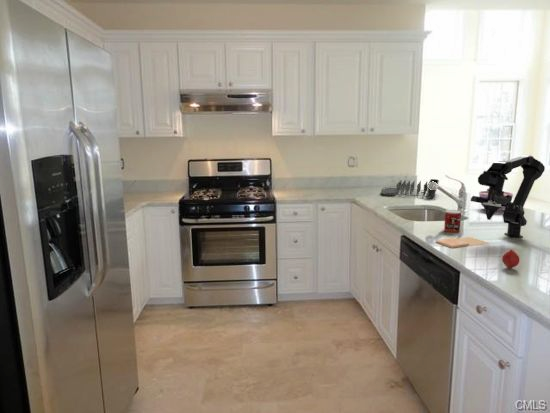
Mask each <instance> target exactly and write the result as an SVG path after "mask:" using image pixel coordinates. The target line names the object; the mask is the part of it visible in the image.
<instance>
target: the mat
mask: <svg viewBox="0 0 550 413" xmlns="http://www.w3.org/2000/svg"><path fill="white" fill-rule="evenodd" d="M456 239H457V240H460V241H463V242H466V243H469V246H470V247H475V246H481V245H488V244H490V242H487V241H484V240H481V239H478V238H474V237H471V236H469V237H460V238H456ZM469 246H468V247H469Z"/></svg>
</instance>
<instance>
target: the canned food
mask: <svg viewBox="0 0 550 413" xmlns="http://www.w3.org/2000/svg"><path fill="white" fill-rule="evenodd" d="M444 213H445V214H444V228H443V230H444V232H448V233H460V231H461V220H462V211H461V210H457V209H447V210H445V212H444Z"/></svg>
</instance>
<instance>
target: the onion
mask: <svg viewBox="0 0 550 413" xmlns="http://www.w3.org/2000/svg"><path fill="white" fill-rule="evenodd" d="M501 260H502V263H503V264H504V266H505V267H506V268H508V269H513V268H516V267H517V266H518V265H519V263H520V256H519V255H518V253H516V252H515V251H514V249H513V248H510V250H508V251H506V252H505V253H504V254H503V255H502V258H501Z"/></svg>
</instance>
